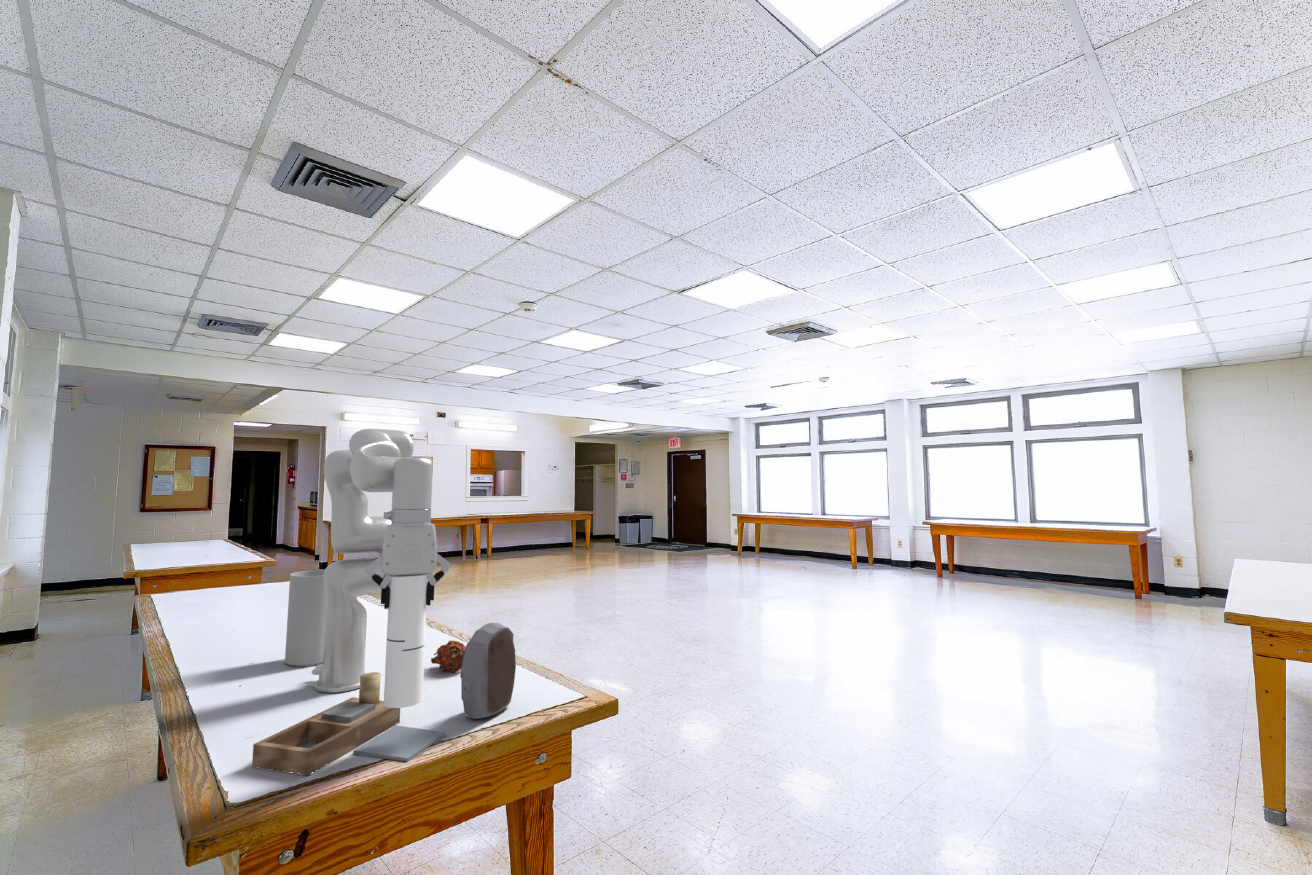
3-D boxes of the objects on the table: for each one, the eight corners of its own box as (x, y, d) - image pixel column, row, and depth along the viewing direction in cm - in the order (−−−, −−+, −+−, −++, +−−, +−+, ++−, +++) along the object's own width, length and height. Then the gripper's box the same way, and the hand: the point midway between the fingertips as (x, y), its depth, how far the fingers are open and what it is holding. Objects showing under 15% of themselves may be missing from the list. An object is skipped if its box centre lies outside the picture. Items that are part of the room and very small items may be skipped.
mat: (353, 753, 111) (353, 750, 111) (395, 728, 123) (395, 725, 123) (407, 761, 108) (407, 758, 108) (445, 734, 120) (445, 731, 120)
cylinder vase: (318, 667, 162) (324, 576, 164) (274, 667, 162) (280, 576, 164) (343, 654, 174) (348, 570, 176) (302, 653, 174) (307, 569, 176)
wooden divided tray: (252, 766, 106) (255, 710, 106) (351, 715, 129) (353, 669, 130) (308, 775, 103) (311, 717, 103) (399, 721, 126) (401, 674, 127)
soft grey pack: (479, 727, 124) (482, 631, 125) (447, 721, 127) (451, 627, 128) (519, 702, 138) (522, 616, 139) (490, 698, 141) (492, 613, 142)
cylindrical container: (391, 694, 119) (397, 571, 121) (427, 694, 120) (432, 571, 122) (377, 708, 112) (383, 577, 114) (415, 707, 113) (421, 577, 115)
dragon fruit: (460, 681, 156) (437, 678, 164) (482, 656, 162) (459, 654, 170) (442, 659, 154) (420, 657, 161) (465, 634, 160) (442, 633, 167)
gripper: (363, 519, 112) (358, 613, 111) (458, 517, 120) (454, 605, 118) (364, 517, 119) (359, 605, 117) (453, 516, 126) (450, 599, 125)
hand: (407, 605), depth 118 cm, fingers closed on cylindrical container, 7 cm apart
